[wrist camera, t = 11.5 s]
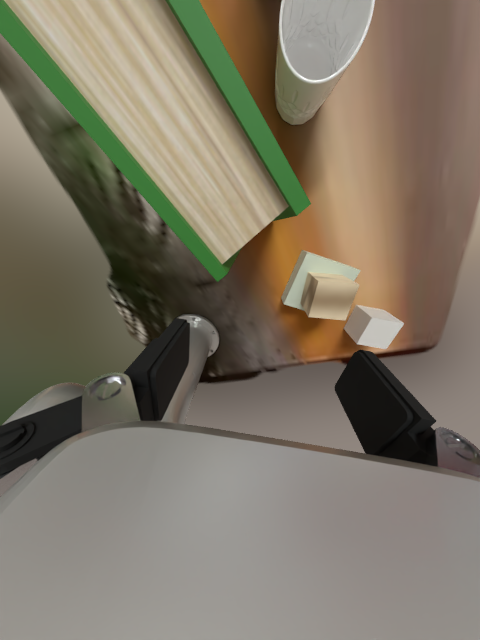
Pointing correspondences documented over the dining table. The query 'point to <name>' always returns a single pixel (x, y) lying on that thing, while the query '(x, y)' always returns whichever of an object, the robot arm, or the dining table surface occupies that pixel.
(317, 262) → the base block
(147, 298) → the dining table surface
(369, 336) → the grey cube
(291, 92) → the white cup
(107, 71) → the hardback book
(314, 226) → the dining table surface
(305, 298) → the maple cube
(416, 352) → the dining table surface
